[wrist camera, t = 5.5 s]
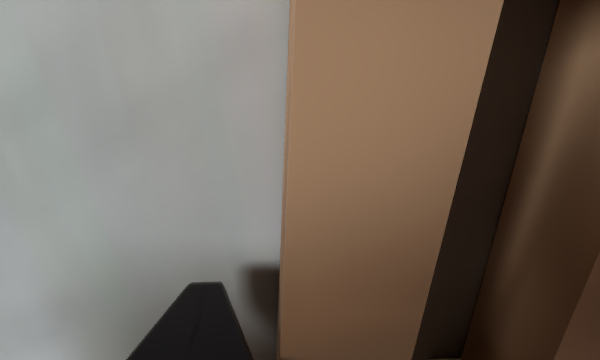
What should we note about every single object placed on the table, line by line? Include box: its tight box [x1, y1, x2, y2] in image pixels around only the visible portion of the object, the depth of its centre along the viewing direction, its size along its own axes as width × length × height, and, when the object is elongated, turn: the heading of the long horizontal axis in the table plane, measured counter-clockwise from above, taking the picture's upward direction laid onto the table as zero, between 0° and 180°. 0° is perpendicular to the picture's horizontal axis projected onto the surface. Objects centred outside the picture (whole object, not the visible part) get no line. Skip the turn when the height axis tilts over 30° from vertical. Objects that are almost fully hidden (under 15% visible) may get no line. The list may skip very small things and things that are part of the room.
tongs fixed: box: [430, 0, 600, 360], centre depth 7 cm, size 18×5×3 cm, turn 179°
